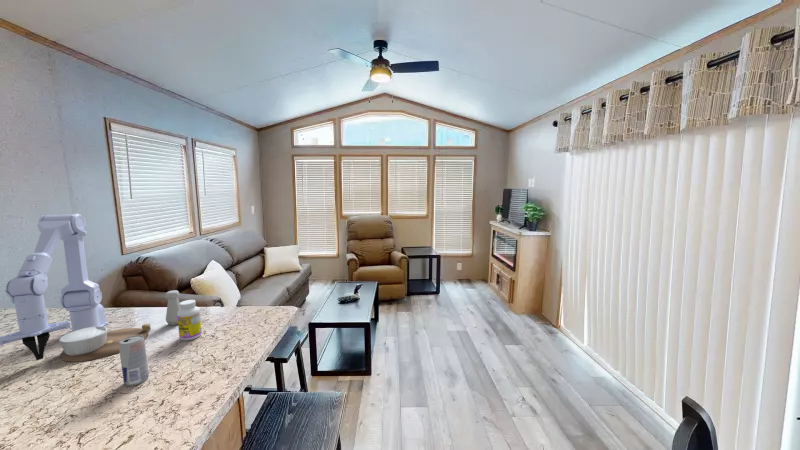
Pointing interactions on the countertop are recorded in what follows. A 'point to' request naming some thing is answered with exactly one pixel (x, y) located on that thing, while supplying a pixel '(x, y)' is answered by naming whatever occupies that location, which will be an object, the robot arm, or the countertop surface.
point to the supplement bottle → (189, 320)
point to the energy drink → (133, 360)
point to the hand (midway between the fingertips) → (39, 358)
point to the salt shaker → (172, 307)
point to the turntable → (109, 344)
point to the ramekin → (84, 340)
